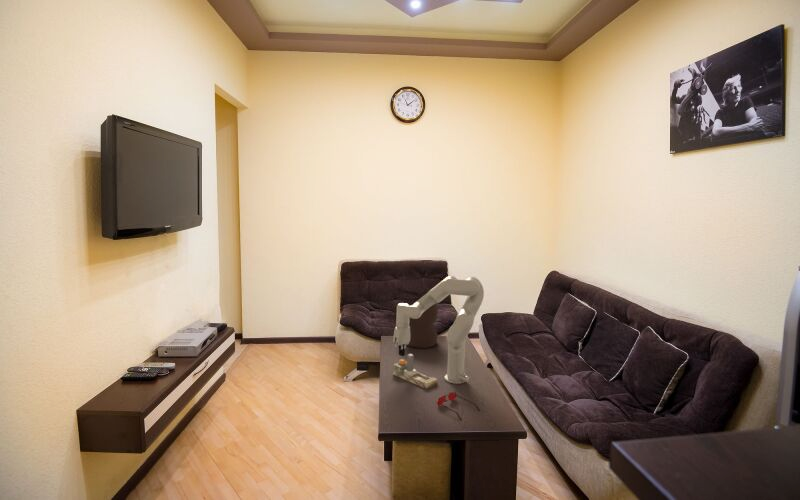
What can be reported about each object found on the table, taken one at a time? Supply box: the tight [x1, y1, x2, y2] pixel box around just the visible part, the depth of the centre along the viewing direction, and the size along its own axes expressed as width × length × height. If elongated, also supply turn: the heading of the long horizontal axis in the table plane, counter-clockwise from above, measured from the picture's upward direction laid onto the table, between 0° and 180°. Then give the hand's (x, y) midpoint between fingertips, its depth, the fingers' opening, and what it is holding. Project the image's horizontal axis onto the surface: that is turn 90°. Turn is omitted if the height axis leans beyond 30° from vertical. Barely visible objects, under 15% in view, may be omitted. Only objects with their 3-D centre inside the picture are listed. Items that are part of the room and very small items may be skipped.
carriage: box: [404, 353, 417, 376], centre depth 232 cm, size 5×5×12 cm
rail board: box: [392, 360, 438, 390], centre depth 230 cm, size 26×9×6 cm, turn 44°
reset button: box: [398, 359, 407, 366], centre depth 237 cm, size 4×4×3 cm
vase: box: [407, 303, 439, 349], centre depth 291 cm, size 27×27×30 cm
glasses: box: [436, 391, 481, 421], centre depth 197 cm, size 14×16×5 cm
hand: (401, 355), depth 236 cm, fingers closed
